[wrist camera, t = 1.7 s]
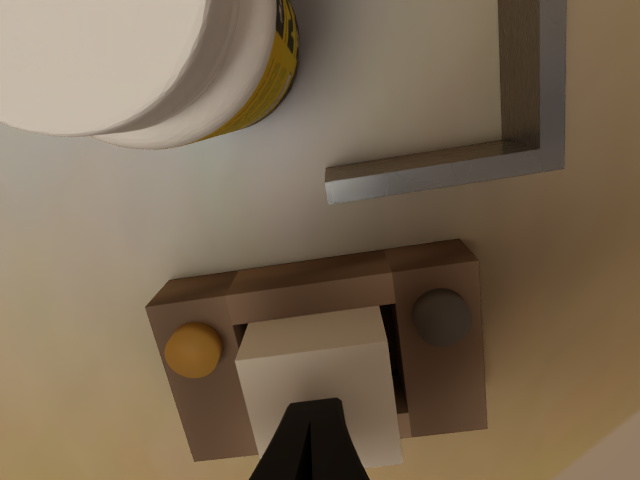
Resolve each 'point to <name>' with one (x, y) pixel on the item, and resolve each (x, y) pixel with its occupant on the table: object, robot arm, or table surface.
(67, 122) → the supplement bottle
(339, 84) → the table surface
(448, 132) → the table surface
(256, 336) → the button
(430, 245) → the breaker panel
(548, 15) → the lockout bracket
